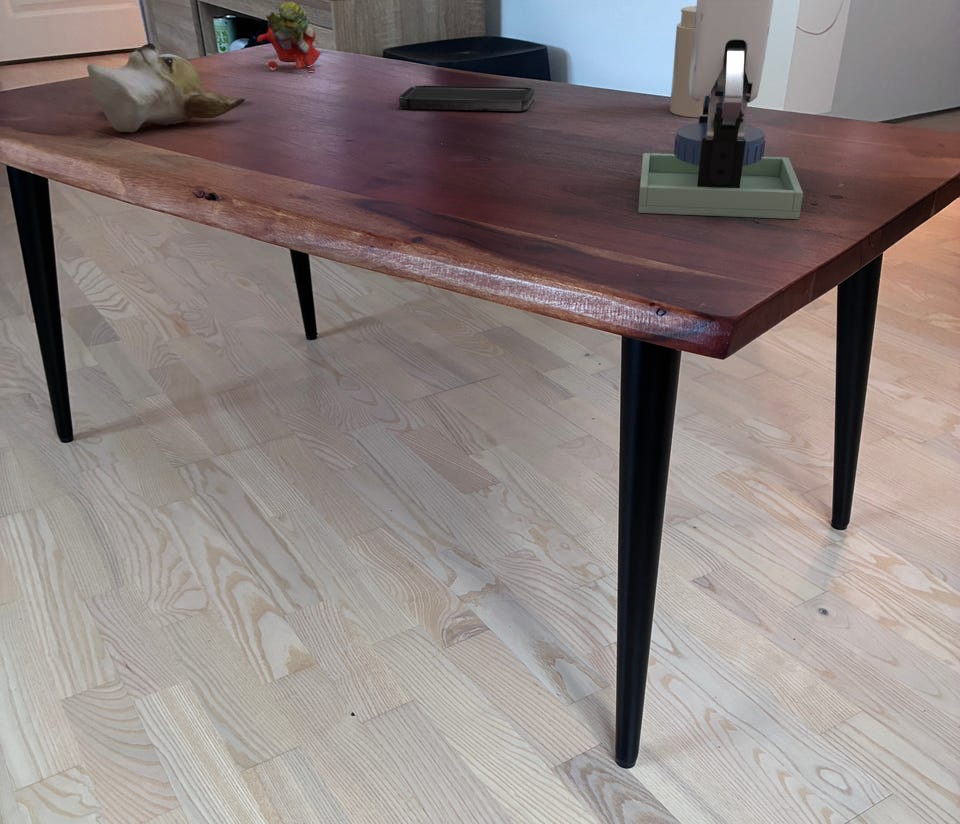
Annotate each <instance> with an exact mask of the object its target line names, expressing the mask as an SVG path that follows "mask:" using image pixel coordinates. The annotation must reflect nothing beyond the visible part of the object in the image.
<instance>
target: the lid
mask: <svg viewBox="0 0 960 824" xmlns="http://www.w3.org/2000/svg"><path fill="white" fill-rule="evenodd" d="M706 131H707V122H705V123H699V122H695V123H690V124H686V125H682V126H680V127H678V128H677V129H676V134H675V136H674V148H673V154H674V155H675V156H676V158H678V159H679V160H681V161H683V162H687V163H690V164H694V165H699V163H700V154H701V145H702V138H706ZM765 138H766V132H765V131H764V130H763V129H761V128H759V127H756V126H752V125H749V124H745V135H744V139H745V140H746V143H745V151H744V159H743V166H746V165H750V164H754V163H757V162H758V161H760V160H761V159H762V157H764V153H765V146H766V140H765Z"/></svg>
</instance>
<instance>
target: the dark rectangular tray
mask: <svg viewBox="0 0 960 824" xmlns="http://www.w3.org/2000/svg"><path fill="white" fill-rule="evenodd" d="M534 101H535V88H533V87H526V86H525V87H523V86H518V87H517V86H514V87H513V86H466V85H464V86H463V85H413V86H410V87H409V88H407V90H405V91H404V92H403V93H402V94H400V95H399V96H398V102H399V108H400V109H405V110H407V109H409V110H447V111H448V110H449V111H450V110H451V111H452V110H453V111H454V110H455V111H459V110H460V111H492V112H493V111H494V112H495V111H499V112H524V111H528V110H529V109H530V107H531V105H532V104H533V102H534Z"/></svg>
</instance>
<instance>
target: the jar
mask: <svg viewBox="0 0 960 824" xmlns="http://www.w3.org/2000/svg"><path fill="white" fill-rule="evenodd" d="M696 6H697V5H691V6H685V7H682V8H680V12H681V16H680V22H679V23H677V24H676V28H675V29H676V31H675V44H674V55H673V66H672V76H671V87H670V102H669V112H670V113H672V114H674V115H676V116H679V117H684V118H686V117H687V118H697V119H699V117H700V116H708V115H702V113H703V103H704V96H700V99H699V102H698V101H694V100H693V99H692V97H691V96H690V90H689V75H690V66H691V57H692V46H693V36H694V26H695V16H696Z"/></svg>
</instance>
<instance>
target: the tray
mask: <svg viewBox="0 0 960 824" xmlns="http://www.w3.org/2000/svg"><path fill="white" fill-rule="evenodd" d="M698 173H699V165H694V164H690V163H687V162H683V161H681V160H679V159H678V158H676V156H675V155H674V153H656V152H655V153H653V152H644V153H642V162H641V172H640V181H639V182H640V183H639V194H638V209H637V213H638V214H658V215H659V214H661V215H683V216H684V215H685V216H686V215H687V216H711V217H732V218H733V217H735V218H755V219H781V220H782V219H785V220H799V219H800V216H801V208H802V203H803V196H804V191H803V190H802V189H803V188H802V187H801V185H800V182H799V180H798V177H797V174H796V172H795V170H794V168H793V165H792V162H791V160H790V158H789V157H787V156H786V157H785V156H782V157H781V156H763V157H762V159H761V160H760V161H758V162H757V163H754V164H750V165H746V166H742V174H741V181H740V188H718V187H697V182H698Z"/></svg>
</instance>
